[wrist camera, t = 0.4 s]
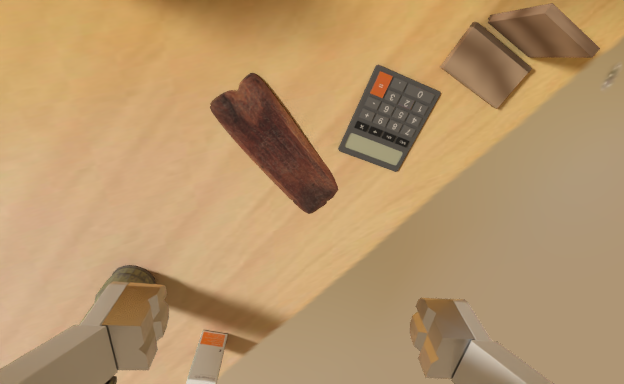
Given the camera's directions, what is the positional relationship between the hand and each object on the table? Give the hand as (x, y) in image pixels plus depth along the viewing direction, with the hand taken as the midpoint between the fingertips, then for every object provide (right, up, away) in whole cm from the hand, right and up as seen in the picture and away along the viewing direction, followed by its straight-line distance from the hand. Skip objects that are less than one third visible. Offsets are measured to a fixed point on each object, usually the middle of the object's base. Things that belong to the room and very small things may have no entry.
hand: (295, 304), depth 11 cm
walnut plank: (+31, +25, +33) cm, 52 cm away
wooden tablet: (-5, +11, +47) cm, 48 cm away
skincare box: (-23, -31, +67) cm, 77 cm away
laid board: (+28, +23, +41) cm, 54 cm away
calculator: (+13, +16, +45) cm, 49 cm away
